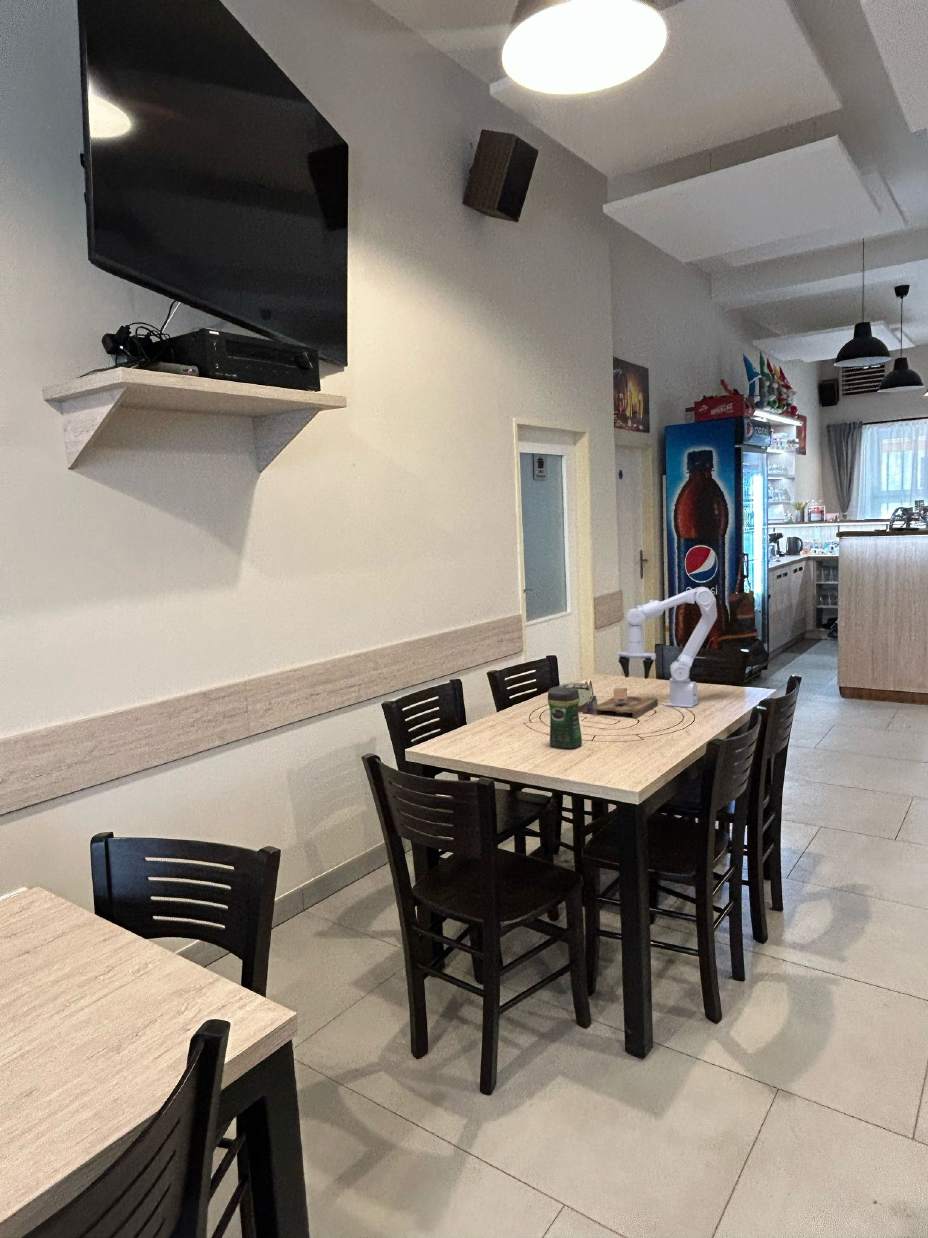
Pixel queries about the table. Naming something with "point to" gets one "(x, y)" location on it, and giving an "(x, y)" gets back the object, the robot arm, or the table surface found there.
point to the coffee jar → (564, 717)
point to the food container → (580, 693)
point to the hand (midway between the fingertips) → (636, 677)
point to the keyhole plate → (628, 706)
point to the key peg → (620, 697)
